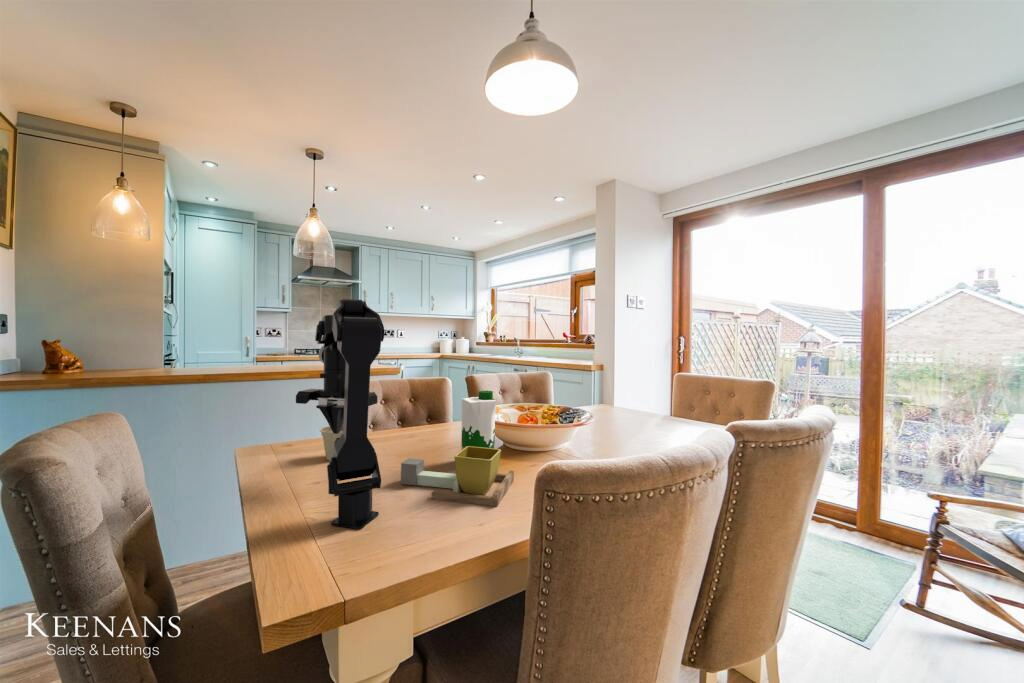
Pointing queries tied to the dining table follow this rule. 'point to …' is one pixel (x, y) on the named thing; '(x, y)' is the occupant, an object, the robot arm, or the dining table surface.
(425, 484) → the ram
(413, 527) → the dining table surface
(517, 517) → the dining table surface
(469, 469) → the flower pot
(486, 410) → the milk carton
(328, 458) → the flower pot
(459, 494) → the bay
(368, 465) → the robot arm
